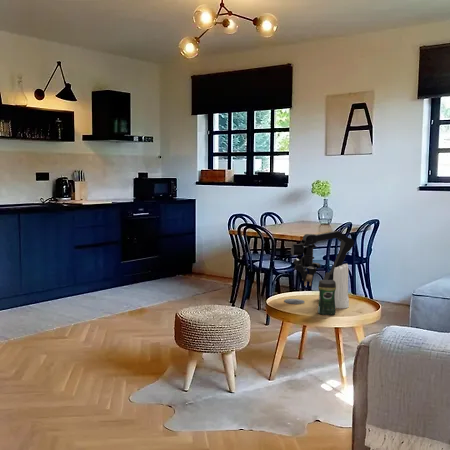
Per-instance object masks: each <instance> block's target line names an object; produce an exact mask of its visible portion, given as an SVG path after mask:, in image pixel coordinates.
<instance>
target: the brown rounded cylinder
mask: <svg viewBox="0 0 450 450" xmlns="http://www.w3.org/2000/svg"><path fill="white" fill-rule="evenodd" d="M301 280H302V282H304V284H303V285H304V287H306V286H309V287H311V286H312V282H313V278H312V274H309V273H307V276H306V280H305V281H303V279H302V278H301ZM308 282H309V283H308ZM308 284H309V285H308Z"/></svg>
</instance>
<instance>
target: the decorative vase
mask: <svg viewBox="0 0 450 450" xmlns="http://www.w3.org/2000/svg"><path fill="white" fill-rule="evenodd" d="M333 280H334V281H335V283H336V290H335V309H348V308H349V306H350V304H349V302H350V299H349V294H348V293H349V265H348V263H342V265H341V266H339V267H335V268H334V274H333Z"/></svg>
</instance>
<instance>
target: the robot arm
mask: <svg viewBox="0 0 450 450" xmlns="http://www.w3.org/2000/svg"><path fill="white" fill-rule="evenodd" d="M331 239H336V240H338V241H339V251H338V253H337V256H336V258H335V260H334V262H333V264H332V267H331V269H330V271H329V272H325V274H324V276H323V280H333V274H334V268H335V267H339V266H341V265H343V264H344V260H345V258H346V256H347V254H348V253H349V252H350V251H351V250H352V249H353V247H354V245H355V240H354V239H353V238H351V237H348V235H345V234H344V233H342V231H339V230H334V231H329V232H328V231H327V232H324V233H318V234H317V233H305V234H304V235H303V237H302V239H301V241H300V242H299V243H292V246H291V248H290V254H291V256H301V258H300V259H299V258H294V259H293V264H294V271H298V272H299V273H300V275H301V280H302V279H303V281H302V282H304V281H305V280H306V276H307V274H312V279H313V278H314V277H315V274H316V272H317V271H318V269H320V268H321V263H320V262H315V261H314V259H315V257H314V249H316V248H317V246H316V245H315V244H316V243H318V242H320V241H325V240H331ZM302 255H303V256H302ZM313 261H314V262H313Z"/></svg>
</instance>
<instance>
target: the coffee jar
mask: <svg viewBox="0 0 450 450" xmlns="http://www.w3.org/2000/svg"><path fill="white" fill-rule="evenodd" d="M317 289H318V291H319V294H318V302H317V303H318V304H317V305H318V306H317V313H318V315H324V316H332V315H335V314H336V309H337V308H335V290H336V283H335V281H334V280H324V279H319V280H318V287H317Z"/></svg>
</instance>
